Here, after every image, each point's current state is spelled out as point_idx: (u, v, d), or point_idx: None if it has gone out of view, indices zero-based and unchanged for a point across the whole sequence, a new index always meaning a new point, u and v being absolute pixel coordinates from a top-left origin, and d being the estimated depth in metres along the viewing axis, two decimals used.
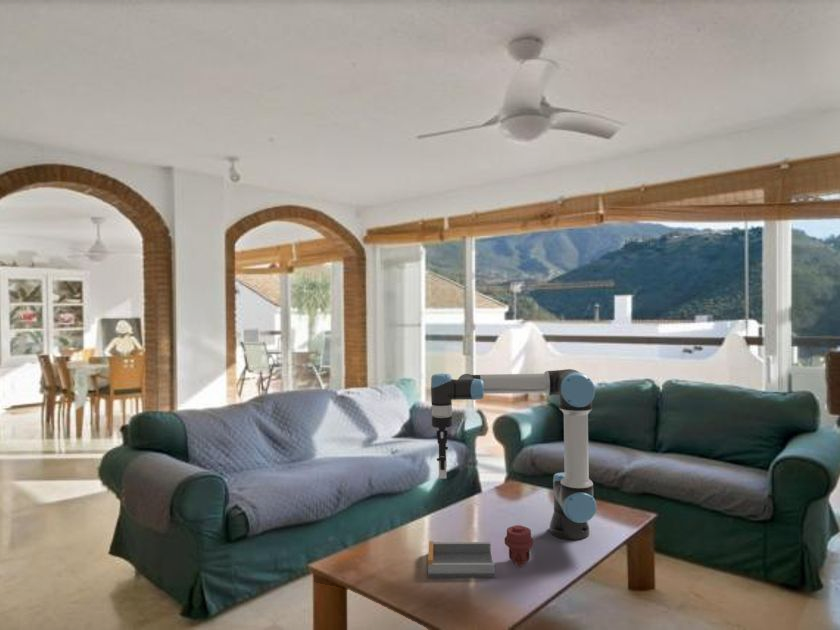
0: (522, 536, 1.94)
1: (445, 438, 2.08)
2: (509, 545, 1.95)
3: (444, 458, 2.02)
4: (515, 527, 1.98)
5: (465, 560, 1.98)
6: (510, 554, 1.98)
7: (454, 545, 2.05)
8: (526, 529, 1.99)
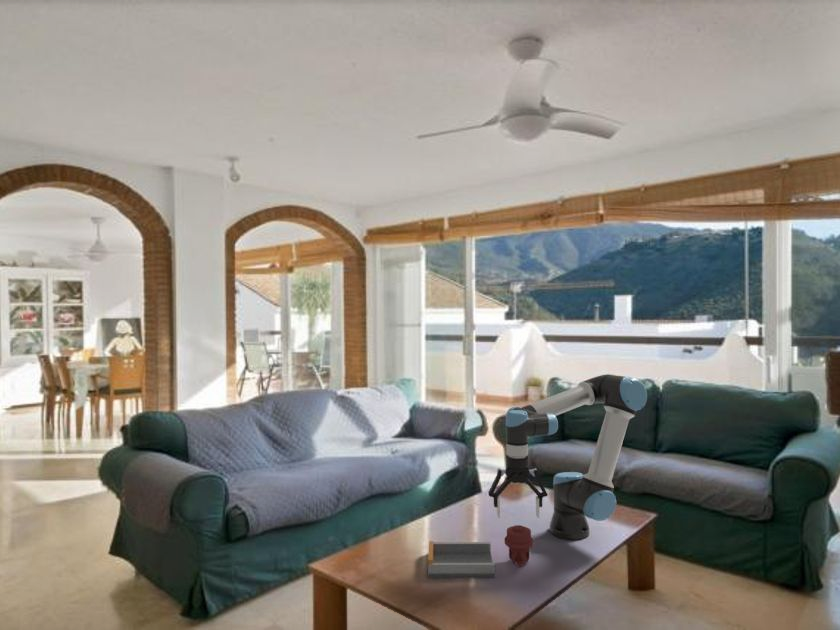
0: (522, 536, 1.94)
1: (508, 478, 1.97)
2: (509, 545, 1.95)
3: None
4: (515, 527, 1.98)
5: (465, 560, 1.98)
6: (510, 554, 1.98)
7: (454, 545, 2.05)
8: (526, 529, 1.99)
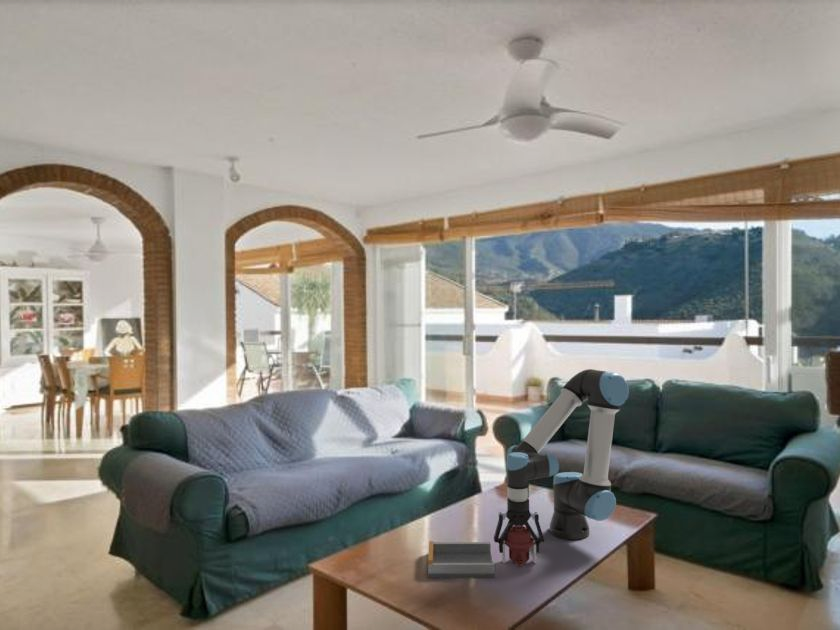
0: (522, 536, 1.94)
1: (510, 522, 1.97)
2: (509, 545, 1.95)
3: (494, 539, 1.98)
4: (515, 527, 1.98)
5: (465, 560, 1.98)
6: (510, 554, 1.98)
7: (454, 545, 2.05)
8: (526, 529, 1.99)
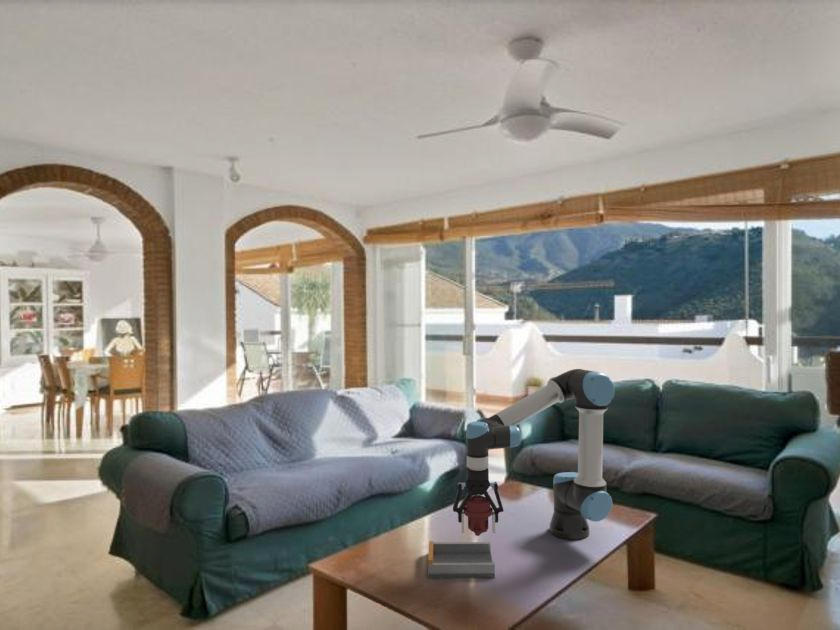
0: (480, 505, 1.93)
1: (469, 491, 1.96)
2: (467, 514, 1.94)
3: (453, 509, 1.96)
4: (474, 496, 1.97)
5: (465, 560, 1.98)
6: (469, 524, 1.97)
7: (454, 545, 2.05)
8: (485, 499, 1.97)
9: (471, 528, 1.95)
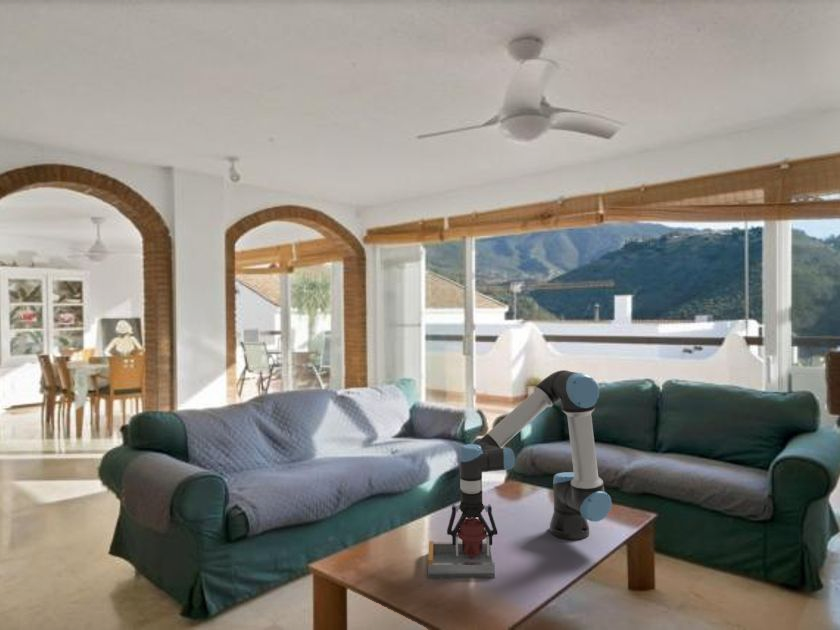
0: (474, 528, 1.93)
1: (463, 514, 1.96)
2: (461, 537, 1.94)
3: (447, 532, 1.97)
4: (468, 519, 1.97)
5: (465, 560, 1.98)
6: (463, 547, 1.97)
7: (454, 545, 2.05)
8: (479, 521, 1.97)
9: (465, 551, 1.95)
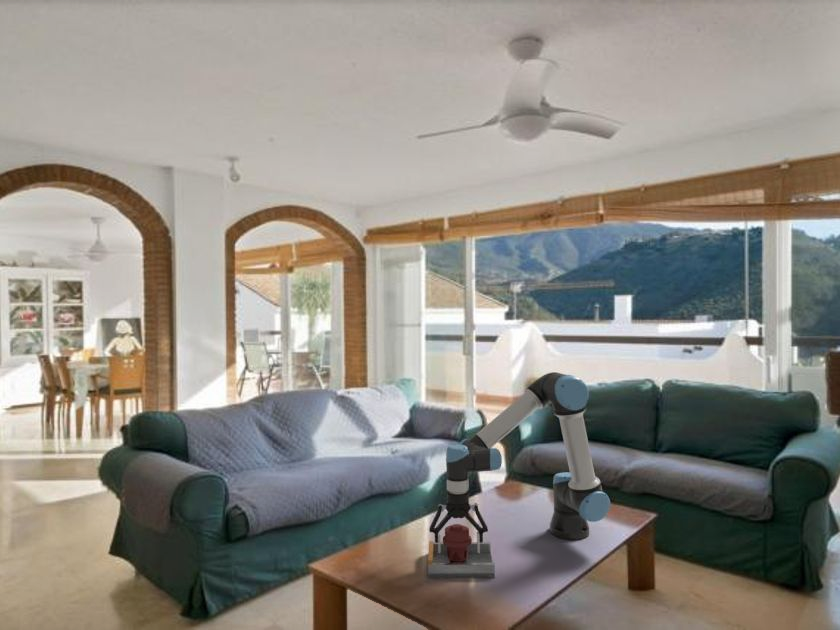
0: (459, 535, 1.93)
1: (449, 514, 1.96)
2: (446, 544, 1.94)
3: (429, 529, 1.97)
4: (453, 526, 1.97)
5: None
6: (448, 553, 1.97)
7: None
8: (464, 528, 1.98)
9: (450, 558, 1.95)
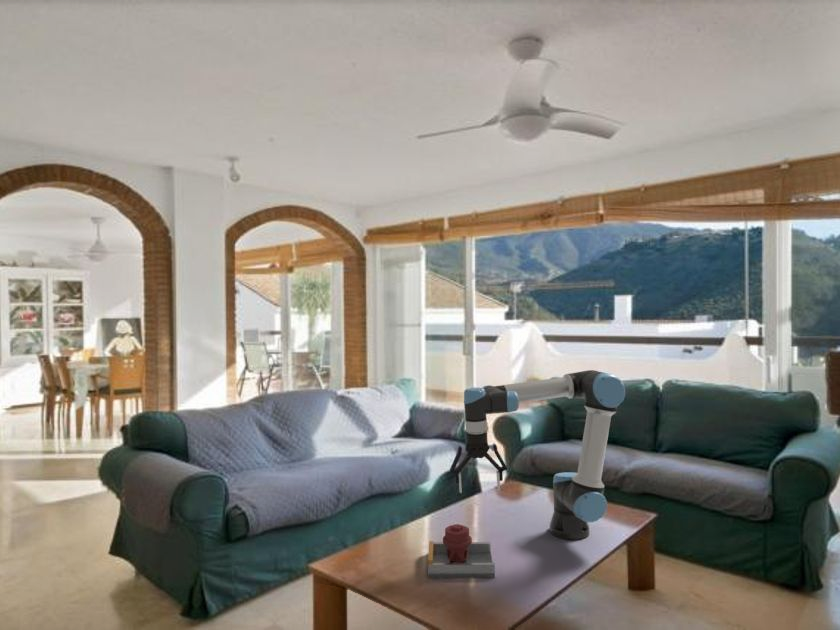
0: (459, 535, 1.93)
1: (468, 454, 2.02)
2: (446, 544, 1.94)
3: (450, 470, 2.02)
4: (453, 526, 1.97)
5: None
6: (448, 553, 1.97)
7: None
8: (464, 528, 1.98)
9: (450, 558, 1.95)
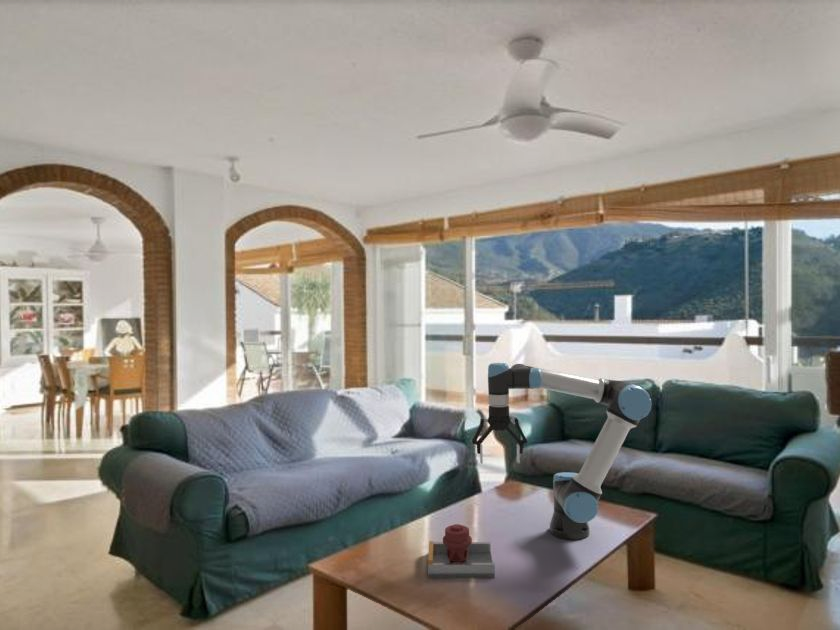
0: (459, 535, 1.93)
1: (490, 426, 2.09)
2: (446, 544, 1.94)
3: (472, 441, 2.10)
4: (453, 526, 1.97)
5: None
6: (448, 553, 1.97)
7: None
8: (464, 528, 1.98)
9: (450, 558, 1.95)
